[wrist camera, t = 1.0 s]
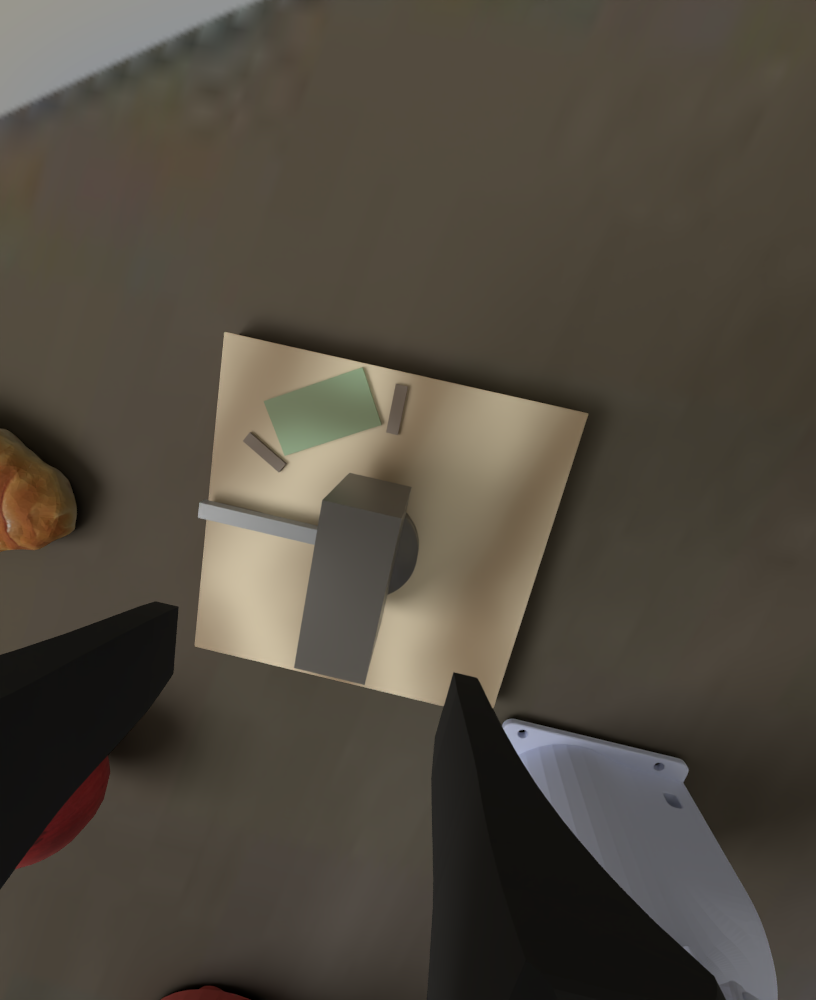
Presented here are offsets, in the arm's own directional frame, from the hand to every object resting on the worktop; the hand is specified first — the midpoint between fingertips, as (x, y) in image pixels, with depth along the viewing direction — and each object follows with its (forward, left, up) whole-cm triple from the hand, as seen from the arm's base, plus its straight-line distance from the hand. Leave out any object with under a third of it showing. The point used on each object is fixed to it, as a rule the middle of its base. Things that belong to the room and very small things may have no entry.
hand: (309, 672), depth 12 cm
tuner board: (0, 0, -10) cm, 10 cm away
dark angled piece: (+3, 0, -9) cm, 10 cm away
